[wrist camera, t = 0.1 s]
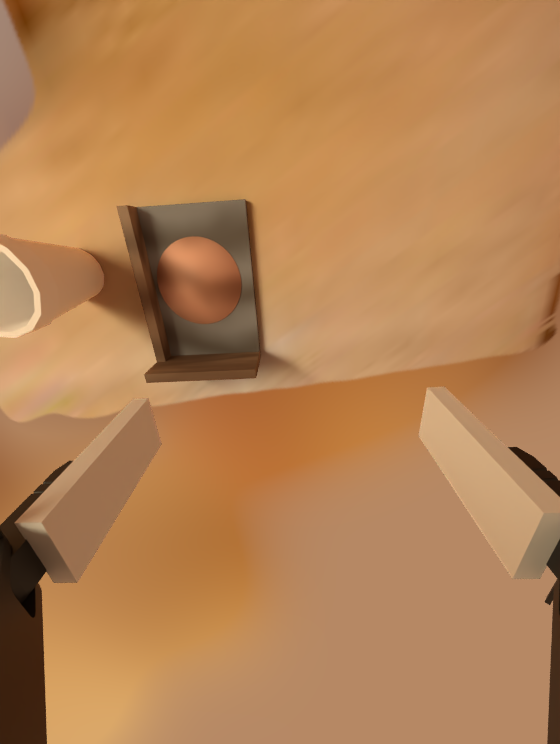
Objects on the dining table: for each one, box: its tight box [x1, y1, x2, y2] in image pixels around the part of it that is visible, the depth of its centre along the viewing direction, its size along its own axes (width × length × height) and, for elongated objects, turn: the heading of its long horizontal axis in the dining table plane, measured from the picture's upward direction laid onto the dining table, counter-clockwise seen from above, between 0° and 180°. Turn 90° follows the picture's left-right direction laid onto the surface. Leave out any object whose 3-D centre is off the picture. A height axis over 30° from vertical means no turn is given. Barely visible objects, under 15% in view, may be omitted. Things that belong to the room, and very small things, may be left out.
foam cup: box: [0, 234, 104, 338], centre depth 32 cm, size 10×9×13 cm
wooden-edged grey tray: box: [117, 199, 261, 383], centre depth 36 cm, size 20×14×7 cm
